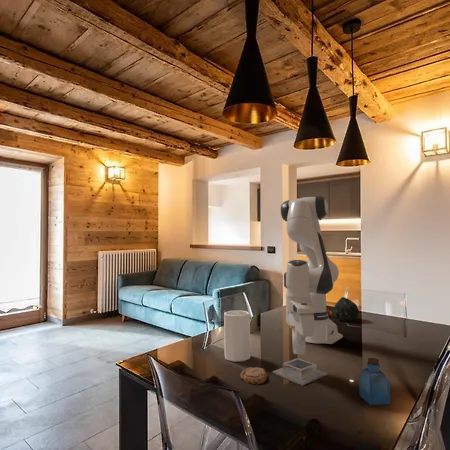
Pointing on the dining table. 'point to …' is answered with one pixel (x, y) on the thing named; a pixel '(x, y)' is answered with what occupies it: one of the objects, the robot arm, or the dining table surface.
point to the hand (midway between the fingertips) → (298, 342)
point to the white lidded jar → (297, 342)
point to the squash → (346, 310)
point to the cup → (237, 335)
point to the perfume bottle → (374, 384)
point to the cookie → (254, 375)
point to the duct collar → (299, 371)
